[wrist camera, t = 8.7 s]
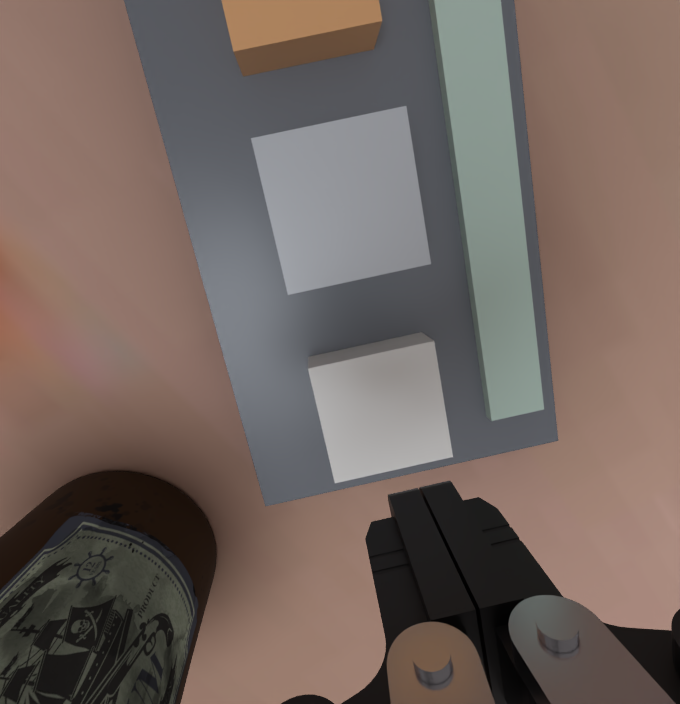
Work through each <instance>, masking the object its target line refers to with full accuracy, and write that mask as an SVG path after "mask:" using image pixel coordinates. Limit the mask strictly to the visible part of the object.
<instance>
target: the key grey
mask: <svg viewBox="0 0 680 704" xmlns="http://www.w3.org/2000/svg"><path fill="white" fill-rule="evenodd" d="M251 141H252V145H253V149H254V153H255V158H256V162H257V166H258V170H259V175H260V179H261V183H262V187H263V192H264V196H265V200H266V204H267V208H268V213H269V217H270V221H271V225H272V230H273V234H274V238H275V242H276V247H277V251H278V255H279V259H280V264H281V268H282V272H283V276H284V280H285V285H286V289H287V293H288V295H290V294H295V293H299V292H304V291H309V290H313V289H318V288H323V287H327V286H332V285H336V284H341V283H346V282H350V281H355V280H360V279H364V278H369V277H373V276H378V275H383V274H387V273H392V272H397V271H401V270H406V269H410V268H415V267H420V266H424V265H429V264H431V260H430V254H429V247H428V241H427V234H426V228H425V222H424V215H423V209H422V203H421V196H420V190H419V184H418V177H417V171H416V164H415V158H414V152H413V145H412V139H411V133H410V126H409V120H408V114H407V107H406V106H403V107H398V108H393V109H388V110H383V111H379V112H374V113H369V114H364V115H360V116H355V117H350V118H345V119H341V120H336V121H331V122H326V123H322V124H317V125H312V126H307V127H303V128H298V129H293V130H288V131H283V132H279V133H274V134H269V135H264V136H260V137H255V138H251Z"/></svg>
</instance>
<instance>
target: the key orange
mask: <svg viewBox="0 0 680 704" xmlns="http://www.w3.org/2000/svg"><path fill="white" fill-rule="evenodd" d="M221 1H222V5H223V9H224V14H225V18H226V22H227V26H228V31H229V35H230V39H231V43H232V48H233V52H234V54H235V57H236V60H237V62H238V65H239V67H240V70H241V73H242V75H243V76H248V75H253V74H258V73H263V72H268V71H272V70H277V69H282V68H287V67H292V66H296V65H301V64H306V63H311V62H316V61H321V60H325V59H330V58H335V57H340V56H345V55H350V54H354V53H359V52H364V51H369V50H374V47H375V44H376V40H377V37H378V34H379V30H380V27H381V24H382V16H381V10H380V4H379V0H221Z"/></svg>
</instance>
